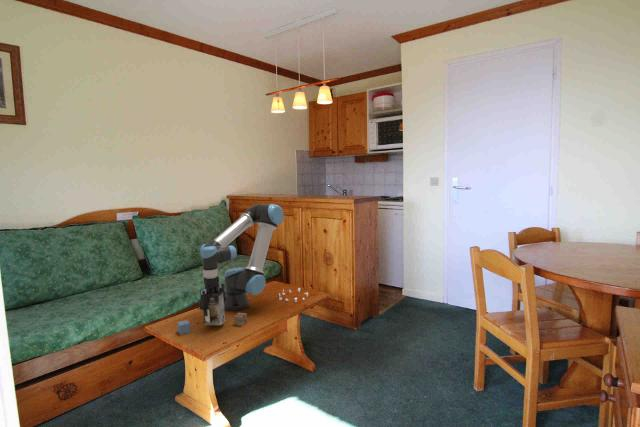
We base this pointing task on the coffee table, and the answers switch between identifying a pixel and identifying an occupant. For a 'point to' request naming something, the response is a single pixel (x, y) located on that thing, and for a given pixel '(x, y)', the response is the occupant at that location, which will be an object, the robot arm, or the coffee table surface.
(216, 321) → the coffee box
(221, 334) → the coffee table surface
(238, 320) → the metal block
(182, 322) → the slate block
